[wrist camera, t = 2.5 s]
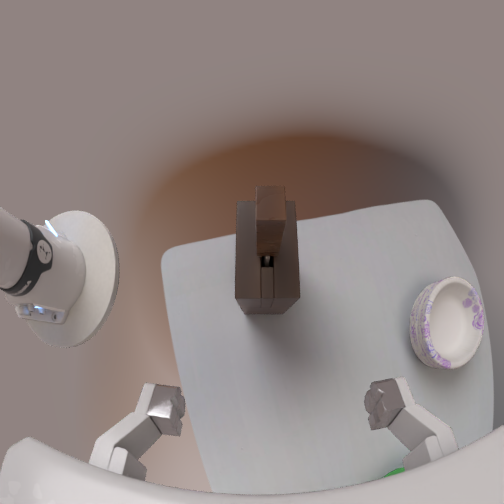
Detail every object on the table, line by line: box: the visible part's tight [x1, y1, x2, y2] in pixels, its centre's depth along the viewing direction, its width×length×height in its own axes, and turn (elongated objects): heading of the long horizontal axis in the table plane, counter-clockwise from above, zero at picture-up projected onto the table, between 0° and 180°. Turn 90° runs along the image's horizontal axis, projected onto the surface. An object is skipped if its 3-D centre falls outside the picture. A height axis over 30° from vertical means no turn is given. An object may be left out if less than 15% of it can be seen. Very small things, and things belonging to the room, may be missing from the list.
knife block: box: [235, 201, 300, 314], centre depth 35 cm, size 6×10×18 cm, turn 0°
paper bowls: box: [409, 277, 484, 369], centre depth 36 cm, size 15×15×8 cm
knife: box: [255, 186, 287, 267], centre depth 26 cm, size 2×3×17 cm, turn 0°
